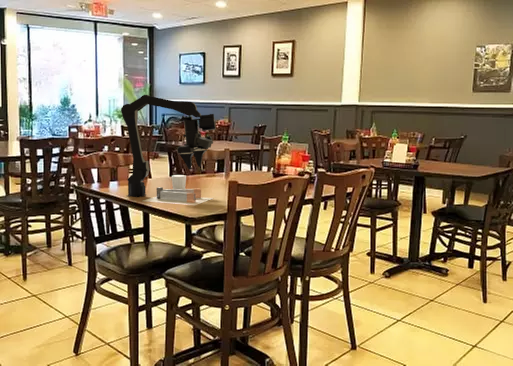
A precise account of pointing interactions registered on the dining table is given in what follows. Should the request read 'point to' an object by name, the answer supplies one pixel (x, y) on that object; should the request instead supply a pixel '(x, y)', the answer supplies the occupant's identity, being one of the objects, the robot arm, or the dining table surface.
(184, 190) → the tong leg
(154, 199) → the cutting board
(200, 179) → the dining table surface
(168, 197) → the tong fixed leg
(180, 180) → the white cup
